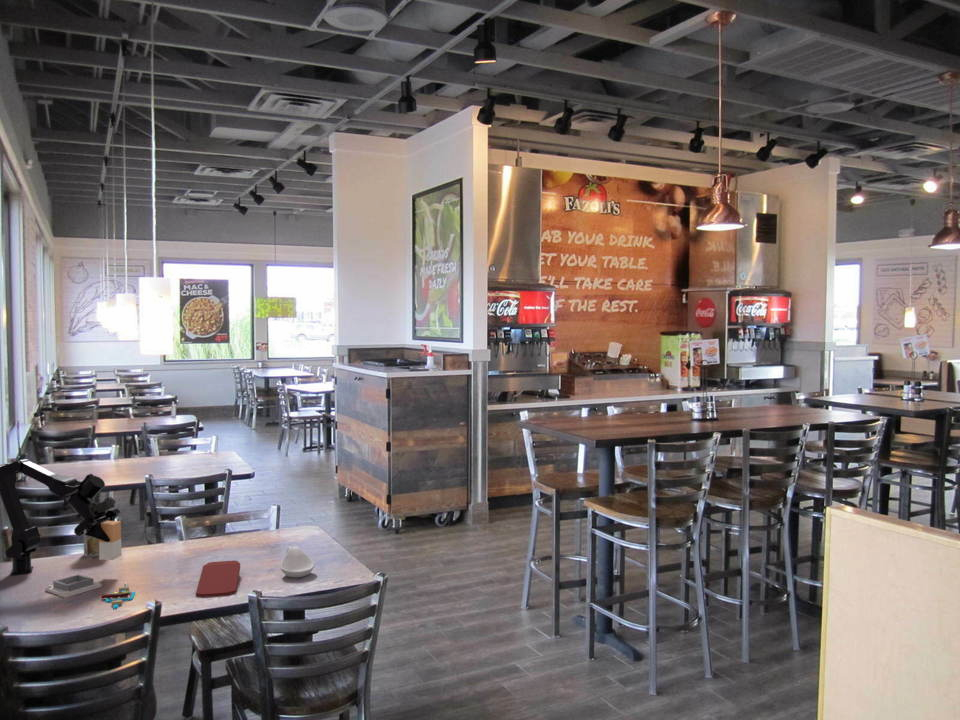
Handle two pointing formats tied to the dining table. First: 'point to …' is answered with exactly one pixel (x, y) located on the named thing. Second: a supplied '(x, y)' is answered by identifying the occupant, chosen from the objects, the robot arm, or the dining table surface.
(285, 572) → the spoon rest
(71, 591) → the socket plate
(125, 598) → the turquoise and red toy
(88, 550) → the coffee box
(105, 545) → the orange and white block
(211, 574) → the red rounded slab
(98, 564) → the dining table surface
